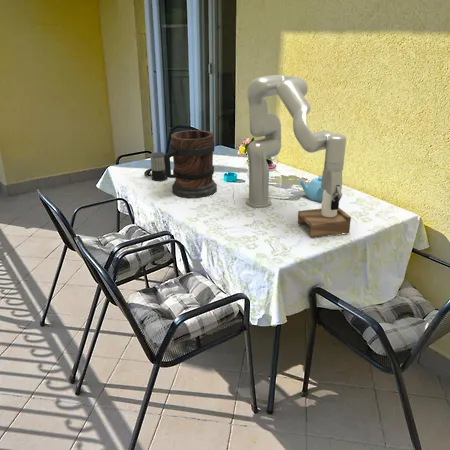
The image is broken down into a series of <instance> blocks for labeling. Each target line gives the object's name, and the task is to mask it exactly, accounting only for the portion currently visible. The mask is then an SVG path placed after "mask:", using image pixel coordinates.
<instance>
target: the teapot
mask: <svg viewBox="0 0 450 450" xmlns="http://www.w3.org/2000/svg"><path fill="white" fill-rule="evenodd" d="M321 181H322V175H318V177H315V178H313V179H312V180H310V181H309V183H308V185H306V183H305V182H304V180H299V183H300V186H301V187H302V190H303V192H304V194H305V196H306V197H307V198H308V200H310V201H313V200H316V201H315V202H322V196H323V193H322V191H323V189H322V188H321Z"/></svg>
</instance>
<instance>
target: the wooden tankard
mask: <svg viewBox="0 0 450 450" xmlns="http://www.w3.org/2000/svg"><path fill="white" fill-rule="evenodd" d="M170 142H171V144H170V146H169V147H170V151H168V152H165V153H166V154H165V155H164V163H165V173H166V177H168V178H169V179H175V180H174V183H173V184H172V186H171V192H172V194H173V195H174V196H176V197H178V198H182V199H188V200H189V199H190V200H191V199H203V197H204V198H207V197H211V196H213V195H215V194H216V193H217V192H218V184H217V183H216V182H215V180H214V179H213V175H214V174H215V167H214V165H213V164H214V162H213V161H214V159H213V158H214V155H213V154H214V151H215V142H214V133H213V132H211V131H208V130H202V129H201V130H200V129H199V130H198V129H189V130H181V131H175V132H174V133H173V132H172V133H171V135H170ZM171 158H172V159H173V169H171ZM172 173H173V174H172ZM214 193H215V194H214ZM210 195H211V196H210Z"/></svg>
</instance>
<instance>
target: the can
mask: <svg viewBox="0 0 450 450" xmlns="http://www.w3.org/2000/svg"><path fill="white" fill-rule="evenodd" d="M324 189H325V188H324ZM334 193H337V192H334ZM336 196H337V195H334V197H336ZM331 201H333V200H332V195H329V194H328V193H327V192H326V189H325V190H324V191H323V198H322V201H321V209H322V210H321V214H322V216H324V217H327V218H333V217H335V216H336V215H337V210H331Z"/></svg>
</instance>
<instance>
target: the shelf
mask: <svg viewBox="0 0 450 450" xmlns="http://www.w3.org/2000/svg"><path fill="white" fill-rule="evenodd" d="M321 210H322V208H315V209H304V210H303V209H302V210H297V223H298V224H302V225H308V226H309V227H310V230H309V238H311V239H315V237H317V238H322V236H325V237H329V236H328V235H333V236H337V235H336V234H342V233H349V234H350V230H351V229H350V228H351V219H352V217H351V215H349V214H348V213H347V212H346V211H344V210H343V209H341V207H339V208H338V209H337V215H336V216H335V217H333V218H327V217H324V216H322V214H321ZM298 224H297V225H298ZM342 235H343V234H342Z"/></svg>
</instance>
